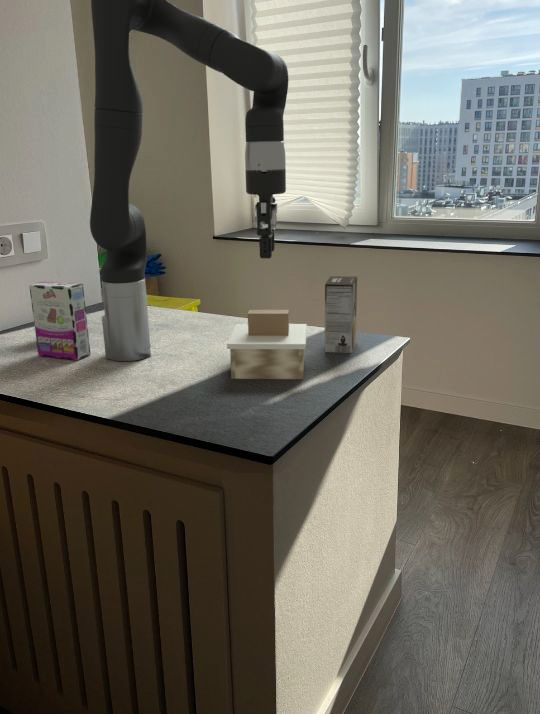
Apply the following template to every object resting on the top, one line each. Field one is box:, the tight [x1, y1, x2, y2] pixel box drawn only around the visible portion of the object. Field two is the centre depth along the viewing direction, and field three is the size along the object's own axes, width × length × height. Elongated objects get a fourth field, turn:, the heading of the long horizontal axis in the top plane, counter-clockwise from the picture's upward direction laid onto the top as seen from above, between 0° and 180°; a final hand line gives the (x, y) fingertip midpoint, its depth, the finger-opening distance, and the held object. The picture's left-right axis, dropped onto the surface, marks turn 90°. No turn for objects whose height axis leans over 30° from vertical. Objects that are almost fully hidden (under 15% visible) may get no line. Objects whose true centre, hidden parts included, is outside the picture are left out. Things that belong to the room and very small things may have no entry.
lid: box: [226, 309, 308, 350], centre depth 129 cm, size 15×15×6 cm
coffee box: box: [324, 275, 358, 354], centre depth 143 cm, size 9×6×16 cm
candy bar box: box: [28, 281, 91, 361], centre depth 142 cm, size 11×5×16 cm, turn 68°
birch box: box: [229, 349, 305, 380], centre depth 131 cm, size 14×14×7 cm
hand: (267, 254), depth 125 cm, fingers open, 8 cm apart
